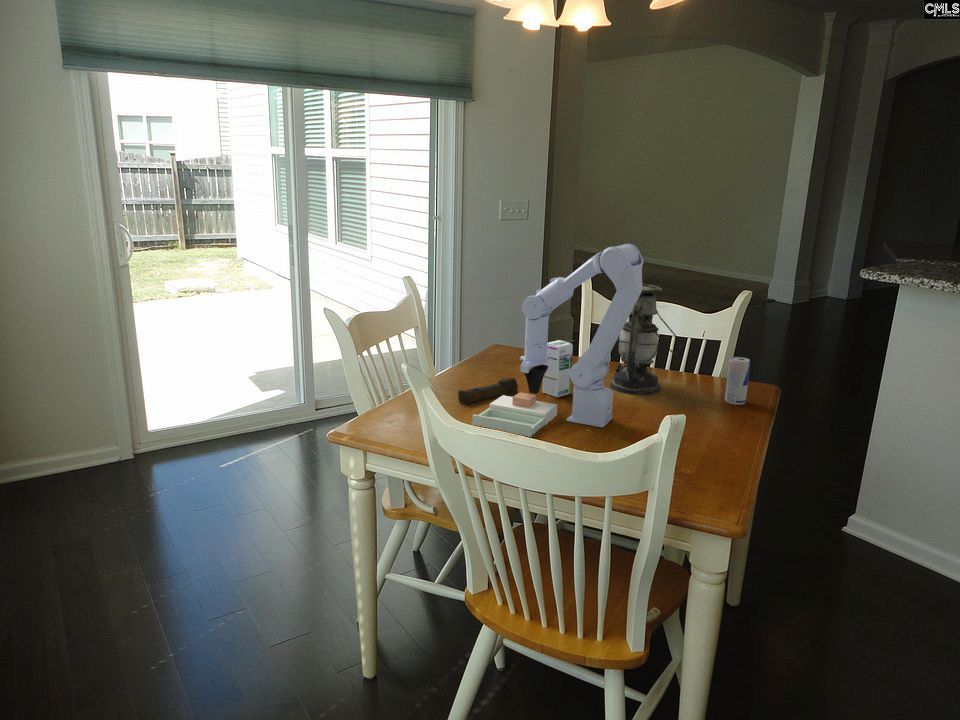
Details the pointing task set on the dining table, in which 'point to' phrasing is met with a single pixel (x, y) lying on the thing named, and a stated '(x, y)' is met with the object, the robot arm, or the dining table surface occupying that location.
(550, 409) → the white drawer casing
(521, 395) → the terracotta tile
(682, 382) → the dining table surface
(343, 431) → the dining table surface
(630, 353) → the lantern
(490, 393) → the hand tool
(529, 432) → the tray
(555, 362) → the syrup box
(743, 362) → the energy drink
